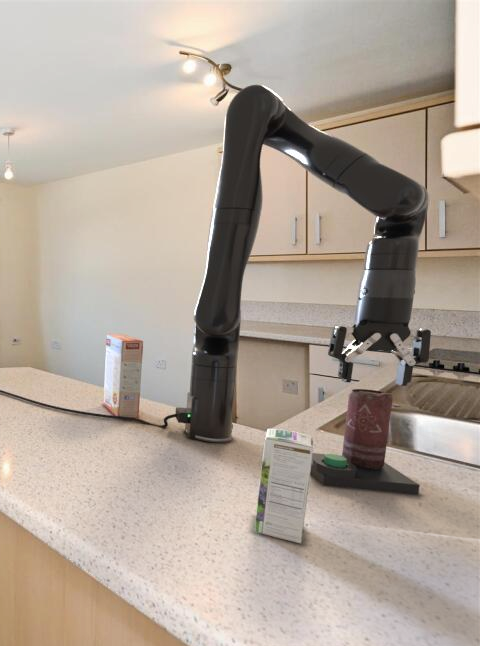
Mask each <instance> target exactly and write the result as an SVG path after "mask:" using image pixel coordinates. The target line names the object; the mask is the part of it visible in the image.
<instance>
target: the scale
mask: <svg viewBox="0 0 480 646" xmlns="http://www.w3.org/2000/svg"><path fill="white" fill-rule="evenodd" d="M325 454H326V453H317V452H312V462H311V471H310V475H311V476H312V477H313V478H314V479H316V481H318V482H319V483H320V485H322V486H324V487H325V486H327V487H334V488H335V487H336V488H345V489H356V490H365V491H374V492H384V493H393V494H405V495H415V496H419V492H420V484H419V483H417V482H416V481H415V480H413V479H411V478H410V477H409V476H407V475H405V474H404V473H402V472H400V471H399V470H397V469H395V468H394V467H393V466H391V465H389V464H388V463H387V462H385V461H384V466H383V467H382V468H381V469H378V470H369V469H363V468H358V467H356V466H355V465H354V464H352V463H350V462H347V461H346V467H344V468H342V467H334V466H330V465H327V464H324V455H325Z"/></svg>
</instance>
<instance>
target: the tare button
mask: <svg viewBox="0 0 480 646" xmlns="http://www.w3.org/2000/svg"><path fill="white" fill-rule="evenodd" d="M324 454H325V455H324V464H327V465H330V466H334V467H342V468H344V467H346V461H347V459H346V458H345V457H343V456H342V455H339V454H336V453H335V454H334V453H324Z"/></svg>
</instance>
